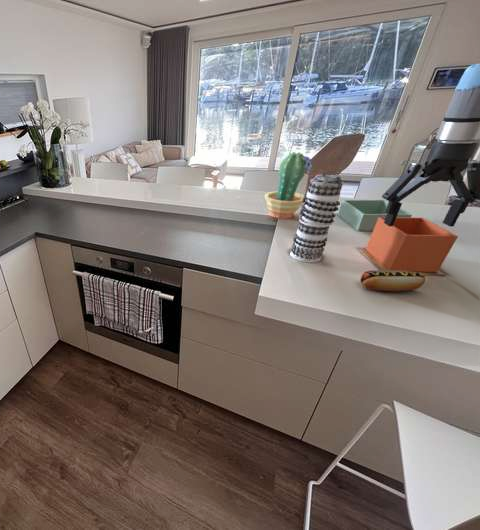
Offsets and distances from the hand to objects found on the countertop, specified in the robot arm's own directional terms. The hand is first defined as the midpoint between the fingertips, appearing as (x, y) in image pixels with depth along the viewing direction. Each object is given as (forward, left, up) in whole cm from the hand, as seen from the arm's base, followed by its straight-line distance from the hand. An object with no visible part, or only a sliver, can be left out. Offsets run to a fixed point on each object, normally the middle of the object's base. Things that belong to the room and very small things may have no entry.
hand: (417, 224), depth 78 cm
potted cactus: (+22, -39, -12) cm, 47 cm away
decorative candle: (+24, -2, -12) cm, 27 cm away
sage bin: (-6, -30, -12) cm, 33 cm away
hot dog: (+10, +15, -12) cm, 22 cm away
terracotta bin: (0, 0, -11) cm, 11 cm away
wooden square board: (0, 0, -12) cm, 12 cm away
